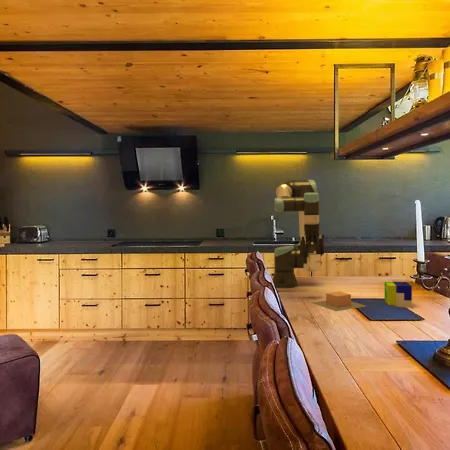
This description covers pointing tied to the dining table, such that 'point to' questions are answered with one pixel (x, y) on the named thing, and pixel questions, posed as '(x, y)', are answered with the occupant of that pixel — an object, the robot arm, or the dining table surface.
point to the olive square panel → (353, 305)
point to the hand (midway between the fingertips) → (312, 269)
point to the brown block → (314, 262)
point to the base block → (338, 299)
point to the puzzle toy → (398, 294)
